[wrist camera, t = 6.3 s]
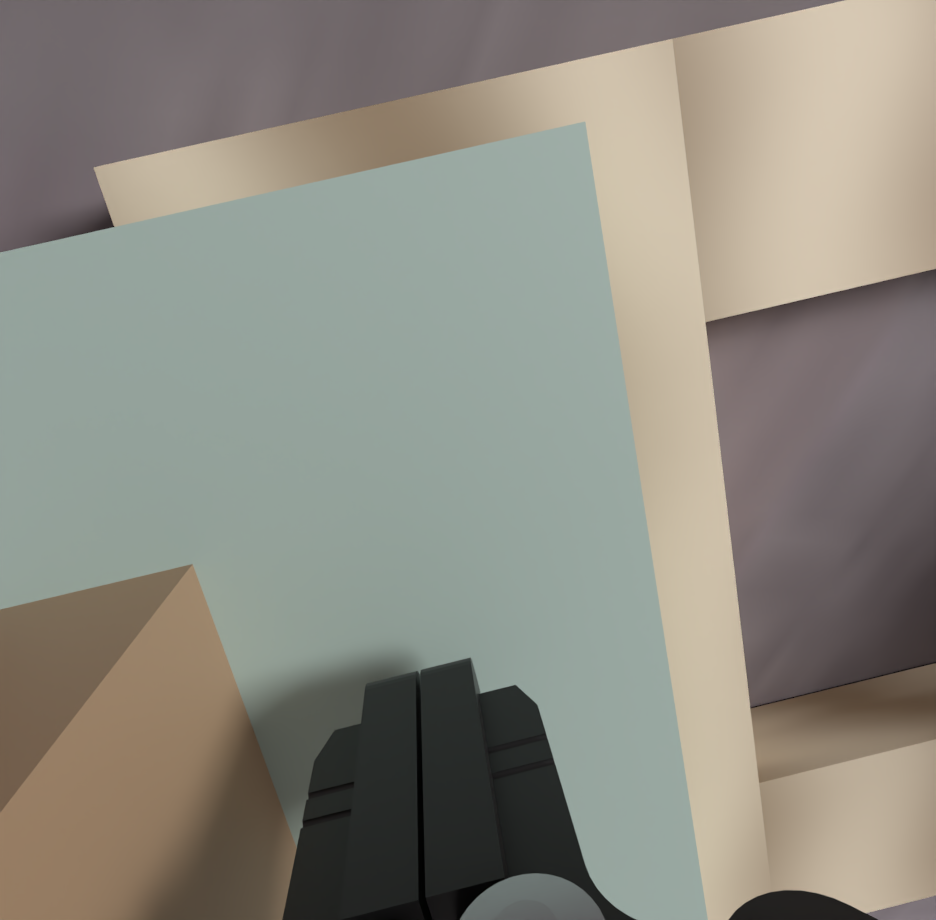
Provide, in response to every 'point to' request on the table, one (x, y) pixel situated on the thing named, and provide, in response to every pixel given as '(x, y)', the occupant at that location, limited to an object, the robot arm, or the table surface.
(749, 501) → the table surface
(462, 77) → the table surface
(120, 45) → the table surface
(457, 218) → the cover
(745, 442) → the table surface
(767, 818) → the puzzle board
